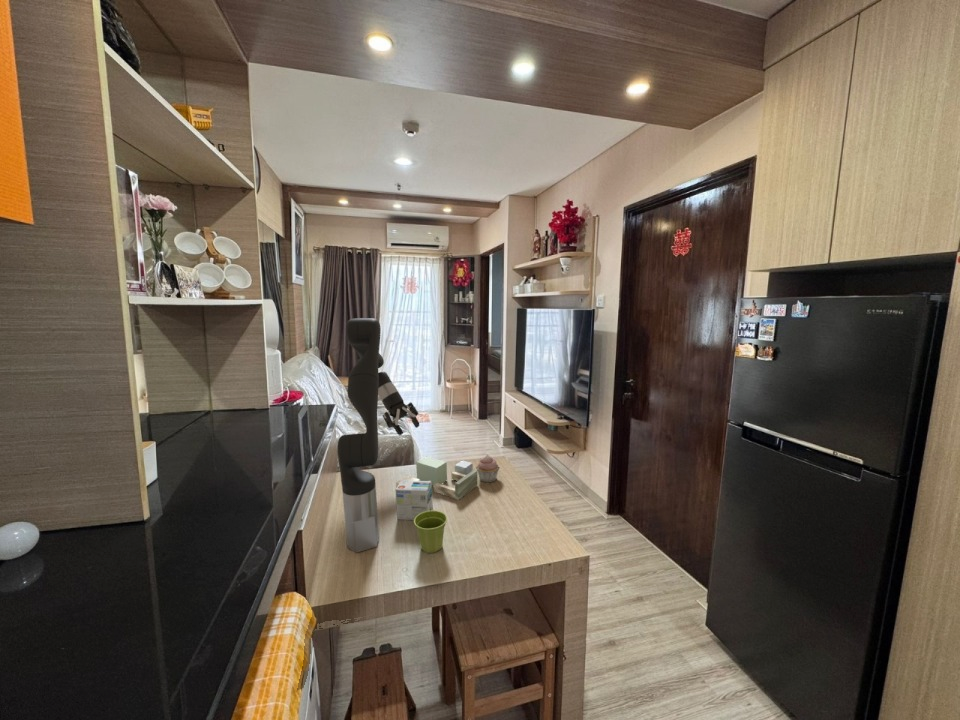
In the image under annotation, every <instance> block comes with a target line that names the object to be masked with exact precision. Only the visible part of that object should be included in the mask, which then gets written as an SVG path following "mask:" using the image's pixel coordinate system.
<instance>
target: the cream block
mask: <svg viewBox="0 0 960 720" xmlns="http://www.w3.org/2000/svg"><path fill="white" fill-rule="evenodd" d="M401 480H405V481H420V479H417V477H413V476H410V475H407V476H405V477H403V478H401V479H399V480H398V481H396V482H395V487H396V488H397V486H398V485H399V483H400V482H401ZM396 488H395V489H396Z"/></svg>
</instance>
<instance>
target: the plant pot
mask: <svg viewBox="0 0 960 720" xmlns="http://www.w3.org/2000/svg"><path fill="white" fill-rule="evenodd" d="M447 521H448V517H447V514H445V513H444V512H443V511H439V510H433V511H426V512H423V513H420V514H418V515H417V516H416V517H415V519H414V520H413V524H414V526H415V528H416V530H417V533H418V534H417V535H418V539H419V544H420V548H421V550H422V551H423V552H424V553H427V554H433V553H436V552H437V551H441V549H442V547H443V541H444V533H445V527H446V523H447Z"/></svg>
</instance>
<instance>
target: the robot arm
mask: <svg viewBox="0 0 960 720" xmlns="http://www.w3.org/2000/svg"><path fill="white" fill-rule="evenodd" d="M345 326H346V327H345V334H346V335H345V336H346V339H347V342H348V344H349V345H350V346H351V347H352V349H354V351H355V352H357V354H358V357H359V359H357V362H356V363H355V365H354V366H353V368H352V369H351V371H350V372H349V375H348V379H347V392H346V393H347V394H346V395H347V397H348V399H349V401H350V404H351V405H352V406H353V407H354V409H355V410H356V412H357V413H358V414H359V415H360V418H361V419H362V421H363V423H364V425H365V428H366V431H365V433H364V432H363V433H348V434H343V435H340V437H339V438H338V441H337V445H336V446H337V447H336V448H337V449H336V450H337V451H336V452H337V453H336V454H337V460H338V461H337V462H338V466H339V472H340V481H341V489H342V501H343V511H344V512H343V514H344V524H345V534H346V535H345V536H346V545H347V547H348V548H349V549H350V550H351V551H354V552H355V554H357V553H360V552H363V551H367V550H370V549H372V548H376V547H378V543H379V542H380V527H379V513H378V502H377V501H378V500H377V488H376V486H377V485H376V484H377V483H376V477H375V475H374V474H372V472H369V471H365V470H361V469H359V468H361V467H370V466H371V467H372V466H375V465H376V464H377V462H378V458H379V429H378V405H379V404H378V401H379V399H380V401H381V402H382V404H383V406H384V408H385V409H386V411H385V412H384V413H383V414H382V417H383V420H384V422H385V424H386V426H387V427H388V428H389V429H390V428H393V429H394V430H395V432H396V434H397V435H398V436H402V435H403V434H404V431H403V429H402V428H401V426H400V424H399V420H401V419H403V418H407V419H410V420H411V423H412V424H413V426H414V428H416V429H417V428H419V427H420V422H419V420H418V419H417V416H418V415H419V411H418V410H417V409H416V407H415V406H414V404H413V403H412V402H411V401H410V402H409V403H408V404H405V402H404V399H403V397H402V396H401V394H400V392H399V391H398V389H397V387H396V385H395V384H394V383H393V382H392V379H391V378H390V376H389V375H388V373H387V372H385V371H381V372H379V369H380V368H381V367H383V366H384V363H385V362H384V358H383V356H382V354H381V353H380V344H381V343H380V342H381V323H380V321H379V319H377V318H373V317H371V318H369V317H367V318H366V317H364V318H363V317H361V318H359V317H358V318H350V319H349V320H348V321H347V322H346V325H345ZM391 417H392V418H391Z"/></svg>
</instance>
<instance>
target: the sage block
mask: <svg viewBox="0 0 960 720" xmlns="http://www.w3.org/2000/svg"><path fill="white" fill-rule="evenodd" d="M415 465H416V478H417V479H420V481H431V483H432V485H433V486H434V484H435V483H439V484H442V483H444V482H445V481H446V480H447V481H448V468H447V467H448V466H447V465H448V464H447V461H445V460H441V459H437V458H433V457H430V456H424V457H423V458H420V459H419V460H418V461H416V462H415ZM445 483H446V482H445ZM445 483H444V484H445ZM433 486H432V487H433Z"/></svg>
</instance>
